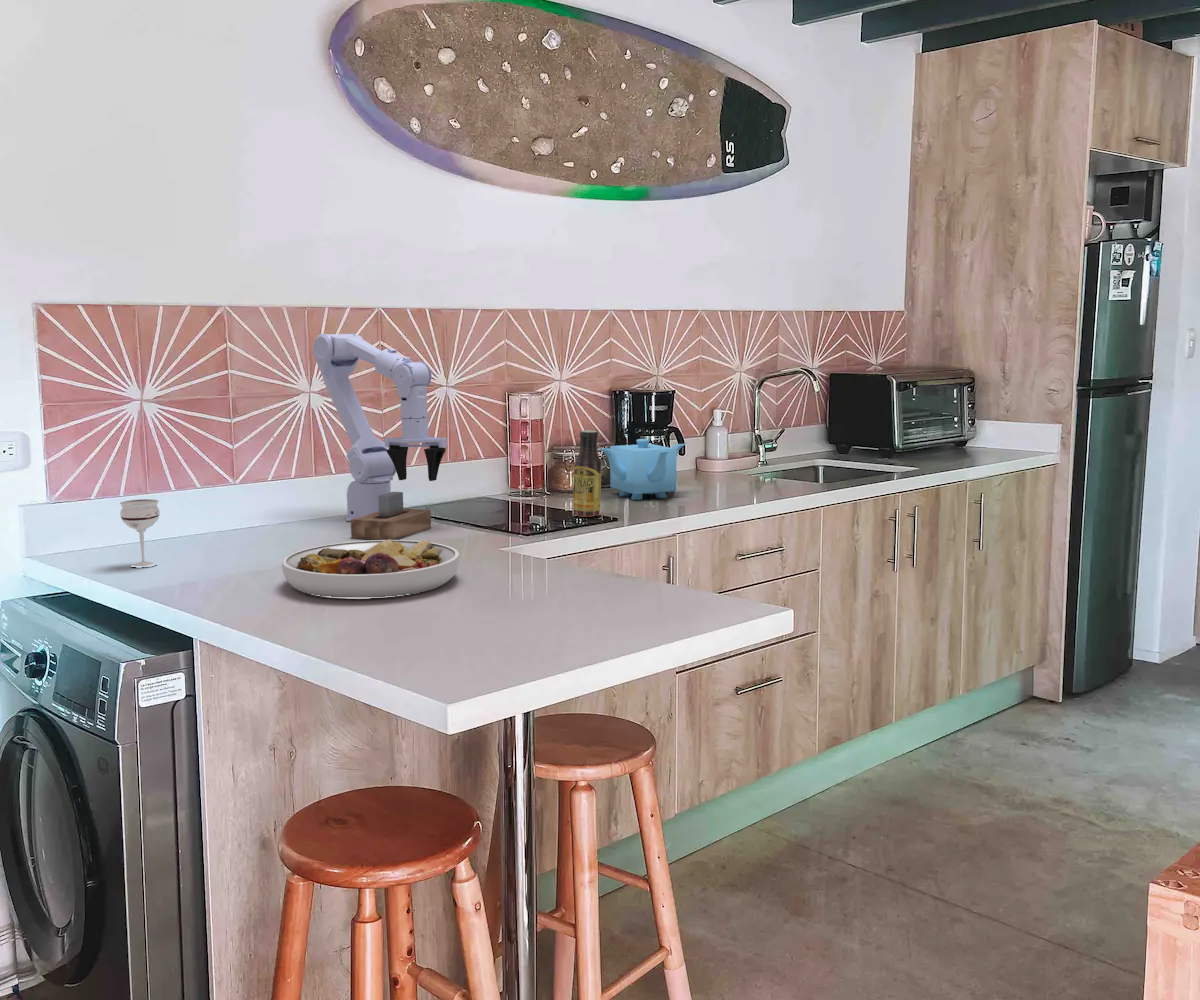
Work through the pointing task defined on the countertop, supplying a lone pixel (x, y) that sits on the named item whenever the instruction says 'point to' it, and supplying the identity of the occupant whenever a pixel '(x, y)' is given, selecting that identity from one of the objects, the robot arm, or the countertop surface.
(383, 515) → the gray rectangular block
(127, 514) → the wineglass
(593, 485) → the sauce bottle
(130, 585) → the countertop surface
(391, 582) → the bowl
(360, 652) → the countertop surface
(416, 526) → the wooden slotted block
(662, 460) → the teakettle
